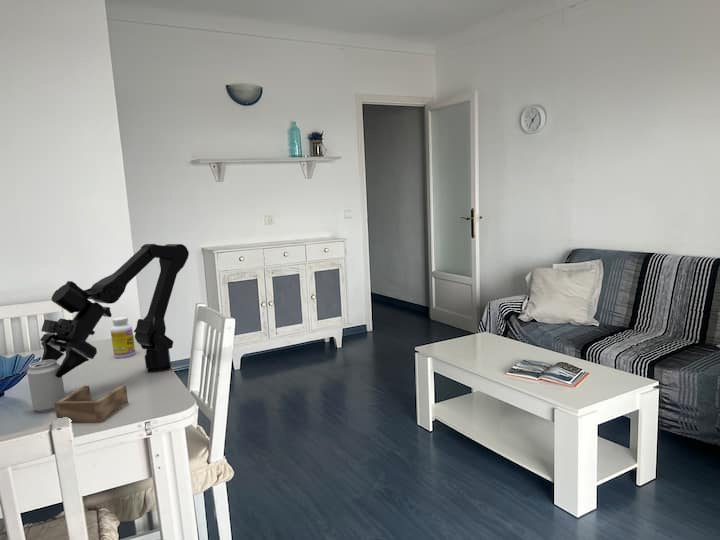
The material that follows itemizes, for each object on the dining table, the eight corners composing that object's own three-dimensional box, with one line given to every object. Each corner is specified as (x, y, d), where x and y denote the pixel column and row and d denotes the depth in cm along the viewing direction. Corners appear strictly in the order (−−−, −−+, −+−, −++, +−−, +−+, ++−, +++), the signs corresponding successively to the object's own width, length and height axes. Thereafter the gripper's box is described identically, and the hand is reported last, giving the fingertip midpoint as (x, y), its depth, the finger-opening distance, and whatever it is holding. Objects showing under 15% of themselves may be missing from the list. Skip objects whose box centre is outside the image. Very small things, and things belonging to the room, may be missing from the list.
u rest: (87, 403, 141) (84, 385, 141) (128, 403, 140) (125, 385, 139) (57, 422, 130) (54, 403, 130) (101, 422, 129) (98, 402, 128)
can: (35, 405, 143) (28, 361, 141) (67, 399, 146) (60, 356, 144) (31, 415, 136) (23, 369, 134) (65, 409, 139) (57, 363, 137)
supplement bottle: (130, 357, 181) (125, 320, 179) (110, 359, 181) (105, 321, 179) (138, 351, 187) (133, 315, 185) (119, 353, 187) (114, 316, 186)
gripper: (42, 304, 148) (4, 355, 140) (78, 308, 137) (39, 364, 129) (75, 325, 155) (40, 375, 148) (112, 331, 144) (76, 385, 137)
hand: (48, 374), depth 140 cm, fingers open, 9 cm apart
